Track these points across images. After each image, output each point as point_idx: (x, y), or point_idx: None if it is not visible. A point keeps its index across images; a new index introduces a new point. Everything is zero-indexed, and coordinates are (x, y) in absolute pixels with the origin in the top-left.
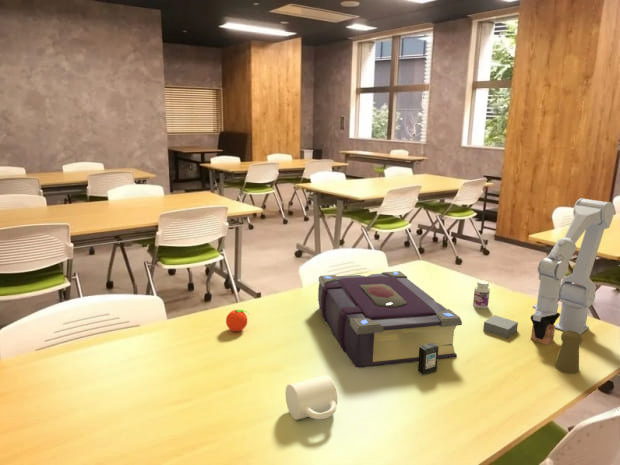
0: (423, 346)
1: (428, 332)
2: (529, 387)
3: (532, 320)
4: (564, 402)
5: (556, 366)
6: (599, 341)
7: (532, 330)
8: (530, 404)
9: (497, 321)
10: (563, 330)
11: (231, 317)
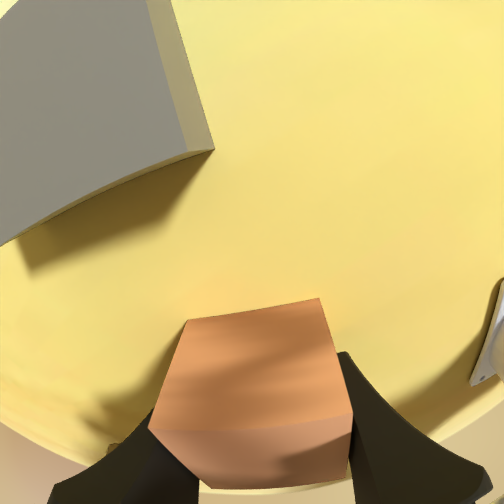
0: None
1: None
2: (14, 411)
3: (71, 487)
4: (56, 452)
5: (108, 449)
6: (453, 420)
7: (167, 382)
8: (7, 417)
9: (10, 64)
10: (489, 329)
11: None
